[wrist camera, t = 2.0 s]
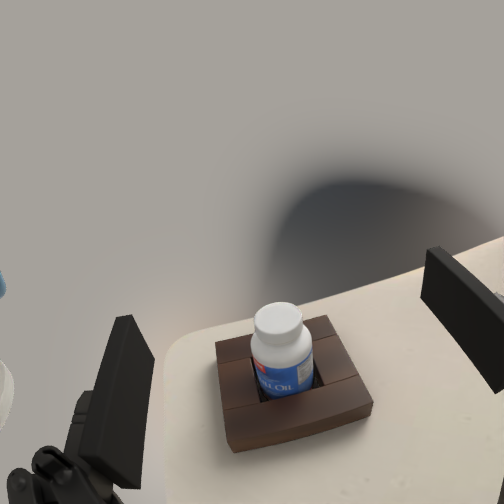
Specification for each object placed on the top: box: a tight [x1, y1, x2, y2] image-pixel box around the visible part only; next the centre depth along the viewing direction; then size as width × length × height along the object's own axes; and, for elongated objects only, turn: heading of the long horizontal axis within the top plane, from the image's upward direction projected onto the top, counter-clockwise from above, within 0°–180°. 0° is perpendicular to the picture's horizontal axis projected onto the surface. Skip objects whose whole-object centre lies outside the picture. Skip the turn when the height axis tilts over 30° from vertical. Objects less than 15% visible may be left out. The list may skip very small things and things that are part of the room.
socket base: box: [215, 315, 373, 453], centre depth 30 cm, size 13×13×2 cm
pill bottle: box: [251, 302, 313, 401], centre depth 28 cm, size 6×5×10 cm
